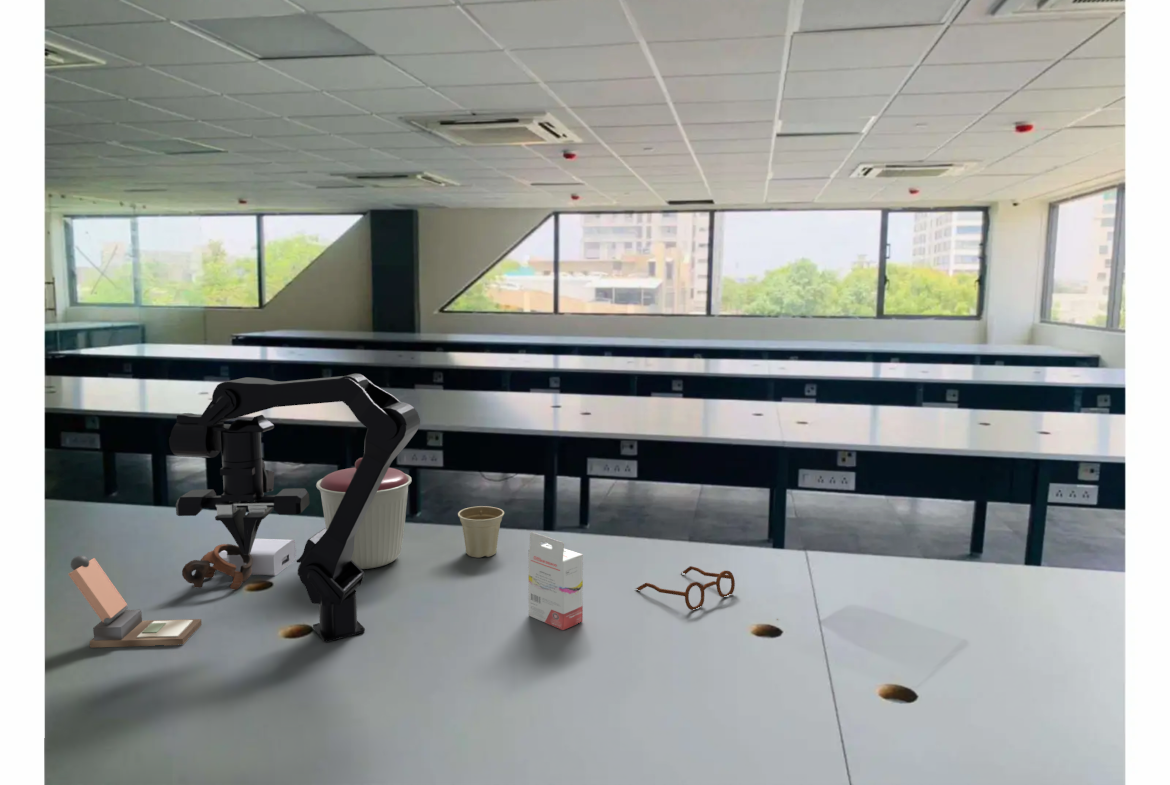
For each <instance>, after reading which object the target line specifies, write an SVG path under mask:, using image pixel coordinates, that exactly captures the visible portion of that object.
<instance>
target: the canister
mask: <svg viewBox="0 0 1170 785" xmlns="http://www.w3.org/2000/svg"><path fill="white" fill-rule="evenodd" d="M362 458H363V457H359V458H358V459H356V461H355V462H354V467H349V468H345V469H339V470H335V471H333V472H330V473H328V474H326V475H325V476H324V477H323V478H321V479H319V480H317V481H316V484H315V486H316V488H317V490H319V492H320V497H321V505H322V511H323V517H324V522H325V529H326V530H327V529H328V527H329V525H330V523H331V521H332V519H333V517H334V515H335V513H336V511H337V509H338V507H339V505H340V503H341V501H342V499H343V497H344V494H345V492H346V490H347V488H348V486H349V484H350V482H351V480H352V478H353V476H354V474H355V472H356V470H357V468H358V466H359V464H360V462H361V460H362ZM411 483H412V477H411V476H410V475H409V474H407V473H404V472H403V471H402V470H399V469H397V468H394V467H389V468H388V470H387V472H386V474H385V476H384V478H383V480H382V482H381V484H380V486H379V488H378V490H377V492H376V494H375V496H374V498H373V500H372V502H371V504H370V506H369V508H368V510H367V512H366V514H365V516H364V518H363V520H362V522H361V524H360V526H359V528H358V530H357V532H356V534H355V538H354V551H353V555H352V558H351V560H352V561H353V562H354V563H355V564H356V565H357V566H358V567H359V568H360V569H361V570H365V569H367V570H368V569H374V568H375V569H376V568H380V567H383V566H386V565H388V564H390V563H393V562H394V561H395V560H396V559H398V557H399V556H400V554H401V552H402V547H403V541H404V533H405V525H406V515H407V503H408V491H409V485H410V484H411Z"/></svg>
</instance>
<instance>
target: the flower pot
mask: <svg viewBox="0 0 1170 785" xmlns="http://www.w3.org/2000/svg"><path fill="white" fill-rule="evenodd" d="M504 515H505V511H504V510H503V509H501V508H498V507H493V506H488V505H487V506H486V505H485V506H483V505H479V506H471V507H467V508H463V509H461V510H459V511H458V512H457V516H458V518H459V521H460V523H461V527H462V532H463V533H462V534H463V538H464V544H465V545H464V546H465V552H466V554H467V556H469V557H472V558H477V559H479V558H483V557H487V558H488V557H491V556H494V555H495V554H496V553H497V550H498V543H499V542H498V541H499V535H500V534H499V533H500V527H501V522H502V521H503V517H504Z"/></svg>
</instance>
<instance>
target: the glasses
mask: <svg viewBox="0 0 1170 785" xmlns="http://www.w3.org/2000/svg"><path fill="white" fill-rule="evenodd" d="M690 571H695V572H698V573H700V574H701V575H703V576H705V577H710V578H711V577H713V578H716V581H709V582H707V583H705V584H704V585H703V583H702V584H701V582H699V581H693V582H691V583H689V584H688V585H687V587H686V588H685V590H684V591H679V590H673V589H666V588H660V587H658V586H657V585H655V584H652V583H649V582H645V583H643V584H641V585H640V586H638V587H636V588H635V589H638V590H640V591H641V590H643V589H646V588H647V587H648V588H651V589H653V590H655V591H656V592H658V593H662V594H668V595H674V596H681V597H684V602H685V605H686V607H687V608H688V609H689V610H691V611H694V610H693V609H696V608H698V607H700V606H701V607H703V605H704V603H705V590H706V589H707V588H710V587H712V586H716V590H717V593H718V596H720V597H721V598H723V597H724V596H727V595H729V594H733V593H734V591H735V587H736V583H735V576H734V574H733V573H732V572H731V571H730V570H722V571H721V572H720V573H716V572H708V571H707V572H706V571H704V570H703V569H701V568H699V567H695V566H692V565H691V566H689V567H687V568H685V570H683V571H682V572H683V573H685V575H686V574H688V573H689V572H690ZM721 579H727V580H728V579H729V580H730V583H731V584H730V589H729V591H728V592H727V593H723V591H722V589H721ZM695 586H697V587H698V588H699V590H700V601H699V603H698V604H697V605H696V606H693V605H692V604H691V603H690V597H689V596H690V590H691V589H692V588H693V587H695Z"/></svg>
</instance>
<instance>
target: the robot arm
mask: <svg viewBox="0 0 1170 785" xmlns="http://www.w3.org/2000/svg"><path fill="white" fill-rule="evenodd" d="M211 399H212V400H210V402H209V404H208V405H207V407H206V408H205V410H204V411H203V413H202V414H196V413H191V412H190V413H189V412H187V413H186V412H184V413H180V414H177V415H176V423H175V424H174V425H173V426H172V429H171V432H170V435H169V436H170V437H169V438H168V444H169V449H170V451H171V452H172V454H173V455H174V456H176V457H188V458H189V457H191V458H216V457H217V456H218V455H219V454H220V453H221V464H222V467H220V469H219V476H222V480H223V481H222V483H223V493H222V494H221V495H217V493H216V492H215V490H214V489H211V488H210V489H190V490H189V491H188V492H186V493H184V494H183V495H181V496H179V498H178V499H177V500H176V503H175V514H176V516H179V517H188V516H189V517H191V516H192V517H196V516H197V515H199V514H200V512H202V510H203V509H216V516H214V519H215V521H218V522H219V521H220V522H221V523H222V524H223V526H224V527H225V528H226V529H227V531H228V532H229V533H230V535H231V536H232V538H233V540H234V541H235V543H236V544H237V545H236V546H238V547H239V548H240V550H241V552H242V553H243V555H249V554H250V552H251V549H252V546H253V543H254V540H255V539H256V536H257V533H258V530H259V528H260V525H261V523H262V521H263V520H264V519H265V518H266V517H267V516H269V515H270V514H271V513H272V512H273V510H274V511H275V513H277V514H278V515H280V516H281V515H282V516H283V515H299V514H302V513H303V512H304V511H305V509H307V507H308V506H309V505H310V494H309V492H308V491H307V489H306V488H282V489H281V490H280V491H279V492H278V493H277V494H268V493H269V492H273V491H274V481H275V471H271V470H269V469H266V463H265V460H263V456H262V455H263V452H262V437H261V435H262V433H265V432H267V431H271V430H273V429H275V425H274V424H273V422H271V421H269V419H267V418H265V416H264V415H263V414H259V415H256V416H254V417H253V418H252V419H246V418H245V419H243V418H241V417H244V416H248V415H251V414H255V413H259V412H262V411H265V410H268V409H273V408H279V407H291V406H305V405H306V406H307V405H314V404H327V403H329V404H330V403H338V402H342V403H344V405H346V406H347V407H348V408H349V410H350V411H351V413H352V414H353V415H354V416H355V418H356V419H357V421H358V422H359V423H361V424H362V425H363V426H364V427H365V428H367V429H366V433H365V436H364V447H363V448H364V449H363V451H364V452H363V455H362V457H361V458H362V460H361V462H360V464H359V466H358V468H357V470H356V472H355V474H354V476H353V478H352V480H351V482H350V484H349V486H348V488H347V490H346V492H345V494H344V497H343V499H342V501H341V503H340V505H339V507H338V509H337V511H336V513H335V515H334V517H333V519H332V521H331V523H330V525H329V527H328V529H327V530H326V527H325V528H323V529H321V530H319V531H318V532H316V533H315V534H314V535H311V536H310V538H308V539H307V541H306V542H305V545H304V547H303V548H304V549H303V552H302V554H301V556H300V557H299V558H297V559H296V563H297V564H298V563H299V564H298V567H297V576H298V577H299V580H300V581H301V583H302V585H303V586H304V587H305V590H306V592H307V595H308V597H309V600H310V603H312V604H318V619H319V622H318V623H314V624H312V630H314V632H315V633H316V634H317V635H318V636H319V638H321V640H322V641H323V642H324V643H326V642H327V643H328V642H330V641H335V640H339V639H342V638H347V637H350V636H353V635H354V636H355V635H357V634H361V633H364V632H365V631H366V629H365V627H364V626H363V625H362V624H361V623H360V622H359V620H358V613H357V612H358V610H357V609H358V606H357V590H356V589H358V587H359V586H361V585H362V584H363V582H364V578H365V575H366V572H364V570H363V569H360V568H359V567H358V566H357V565H356V564H355V563H354V562H353V561H352V560H351V558H352V555H353V551H354V538H355V534H356V532H357V530H358V528H359V526H360V524H361V522H362V520H363V518H364V516H365V514H366V512H367V510H368V508H369V506H370V504H371V502H372V500H373V498H374V496H375V494H376V492H377V490H378V488H379V486H380V484H381V482H382V480H383V478H384V476H385V474H386V472H387V470H388V468H390V466H391V464H392V463H393V461H394V460H395V459H396V457H398V455H399V454H400V453H401V452H402V451H403V449H404V448H405V447H406V446H407V445H408V443H409V442H410V441H411V439H412V438H413V437H414V436H415V434H416V433H417V431H418V430H419V428H420V425H421V417H420V416H419V413H418V411H417V409H416V408H415V407H414V406H412V404H410V403H407V402H402V401H401V400H399V399H398V398H397V397H396V396H395V395H393V394H391V393H389V392H388V391H386V390H384V389H383V388H382V387H380V386H378V385H376V384H374V383H373V382H372V381H371V380H369V379H368V378H367V377H366V376H364V375H363V374H361V373H351V374H348V375H344V376H343V375H341V376H332V377H331V376H330V377H329V376H328V377H320V378H319V377H318V378H310V379H309V378H308V379H297V380H287V381H278V380H272V379H269V378H260V377H242V378H238V379H232V380H227V381H223V382H220V383H219V384H217V385H216V387H215V388H214V390H213V392H212V397H211ZM236 418H237V419H236ZM239 418H241V419H239ZM234 419H235V420H234ZM230 420H234V421H233V422H231V424H229V423H225V422H226V421H230ZM265 493H266V494H265ZM247 510H248V512H247Z"/></svg>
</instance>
